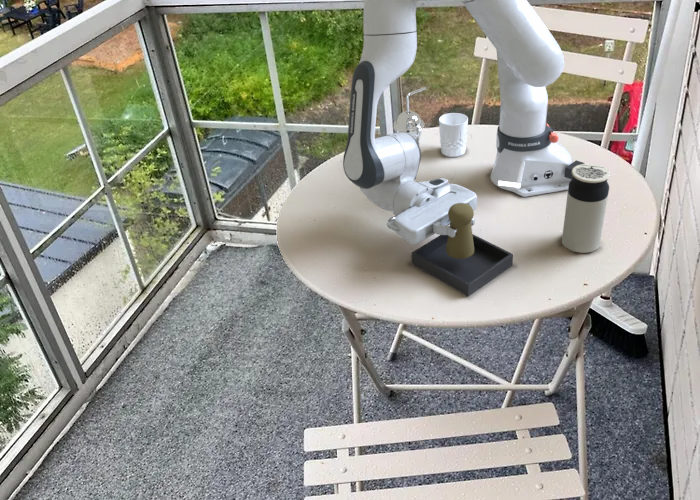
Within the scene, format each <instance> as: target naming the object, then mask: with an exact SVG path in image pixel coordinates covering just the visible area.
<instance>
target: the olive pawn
mask: <svg viewBox="0 0 700 500" xmlns="http://www.w3.org/2000/svg"><path fill="white" fill-rule="evenodd" d="M474 212H475V211H474V210H473V209H472V207H471V206H470V205H468V204H465V203H457V204H454V205H452V206H451V207H450V208H449V211H448V217H449V220H450V221H451V222H450V225H449V226H452V227H454V228H456V229H457V235H456V236H455V237H453V238H452V237H450V236H448V240H447V245H446V253H447V254H448V255H449V256H451V257H453V258H457V259H464V258H468V257H470V256H472V255H473V253H474V243H473V235H472V234H473V228H472V227H473V226H471V221H472V219H473V218H474V216H475V215H474V214H475V213H474Z"/></svg>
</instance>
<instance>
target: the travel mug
mask: <svg viewBox="0 0 700 500" xmlns="http://www.w3.org/2000/svg"><path fill="white" fill-rule="evenodd" d="M572 175H573V178H572V180H571V181H570V182H569V187H568V190H567V196H566V204H565V210H564V211H565V212H564V220H563V228H562V236H561V243H562V245H563V246H564V248H566V249H567V250H569V251H571V252H576V253H581V254H584V253H591V252H594V251H596V250H598V249H599V248H600V245H601V239H602V234H603V228H604V222H605V217H606V210H607V204H608V199H609V192H610V185H609V182H608V180H609V178H610V177H611V172H610V170H609V169H608V168H607V167H605V166H603V165H601V164H597V163H585V164H580V165H577V166H575V167H574V168H573V169H572Z"/></svg>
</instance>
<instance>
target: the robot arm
mask: <svg viewBox="0 0 700 500" xmlns="http://www.w3.org/2000/svg"><path fill="white" fill-rule="evenodd" d="M363 1H364V2H363V3H364V4H363V13H362V15H363V17H362V20H363V21H362V28H363V29H362V30H363V44H362V45H363V46H362V53H361V56H360V60H359V62H358V64H357V65H356V67H355V68H354V70H353V74H352V79H351V87H350V96H349V97H350V98H349V99H350V100H349V113H348V129H347V139H346V146H345V150H344V154H343V158H342V160H343V161H342V167H343V171H344V174H345V176H346V178H347V179H348V180H349V181H350V182H351V183H352V184H353V185H355V186H356V187H358V188H359V189H360V191H361V194H363V196H364V197H365V198H366V199H367V200H369V202H371V203H372V204H374V205H375V206H377V207H379V208H381V209H383V210H385V211H388V212H392V213H393V214H394V216H391V217H389V218H388V219H387V222H386V226H387V228H388V229H390V230H392V231H394V232H395V233H396V234H397V235H398V236H399V237H400V238H401V239H403V240H404V241H405V242H407V243H408V244H410V245H418V244H419V243H421V242H423V241H425V240H427V239H428V238H430V237H432V236H433V235H438V236H440V235H448V236H450V237H452V238H453V237H455V236H456V235H457V229H456V228H454V227H452V226H450V222H451V221H450V220H449V217H448V211H449V208H450V207H451V206H452V205H454V204H457V203H465V204H468V205H470V206H471V207H472V209H473V211H475V210H476V209H477V207H478V196H477V194H476V192H474V191H473V190H471V189H469V188H467V187H465V186H462V185H459V184H456V183H449V180H448V179H447V178H444V177H440V178H436V179H433V180H427V181H419V182H418V181H416V179H417V176H418V172H419V169H420V164H421V159H422V157H421V156H422V151H421V147H420V144H419V145H418V143H417V141H416V140H415V139H414V137H412V136H411V135H410V134H408V133H406V132H398V133H397V132H393V133H390V134H385V135H383V136H378V137H376V128H377V127H376V125H377V114H378V113H377V112H378V104H379V101H380V97H381V95H382V94H383V92H384V91H385V90H386V89H387V88H388V87H389V86H390V85H391V84H392V83H393V82H395V81H396V80H398V79H399V78H400V77H402V76H403V75H404V74H406V72H408V71H409V69H411V67H412V65H413V64H414V63H415V60H416V56H417V52H418V51H417V50H418V32H417V30H418V29H417V17H416V14H417V8H418V4H419V1H420V0H363ZM460 1H461V3H462V4H463V5H464V7H465V8H466V10H467V11H468V13H469V14H470V15H471V17H472V18H473V20H474V21H475V23H476V24H477V25H478V28H480V30H481V31H482V32H483V34H484V35H485V36H486V38H487V39H488V40H489V42H490V43H491V45H492V46H493V47H494V48H495V50H496V62H497V75H498V76H497V77H498V84H499V85H498V87H499V95H500V98H499V99H500V102H499V106H500V107H499V125H498V126H497V130H496V137H495V142H496V143H495V147H496V155H495V160H494V165H493V168H492V170H491V172H490V177H489V178H490V181H491V182H492V184H493V185H495V187H498V188H500V189H502V190H505V191H509V192H512V193H514V194H517V195H518V196H521V197H522V198H523V197H527V198H528V197H532V196H538V195H545V194H549V193H556V192H561V191H568V187H569V182H570V181H571V180H572V178H573V175H572V169H573V168H574V167H575V166H577V165H580V164H586V163H585V162H583V161H580V160H575V161H573V158H572V155H571V154H570V152H569V150H568V149H567V148H566V147H565V146H564V145H562V144H561V143H559V142H558V141H559V136H558V134H557V133H556V132H554V129H553V127H550V125H549V124H548V123H547V116H548V104H549V95H548V91H547V87H548V86H550V85H552V84H553V83H555V82H556V81H557V80H558V79H559V78H560V76H561V75H562V73H563V71H564V69H565V61H566V60H565V55H564V53H563V51H562V49H561V46H560V45H559V43H558V41H557V40H556V39H555V37H554V36H553V34H552V33H551V32H550V30H549V28H548V27H547V26H546V24H545V23H544V22H543V20H542V18H541V17H540V16H539V14H538V13H537V12H536V10H535V9H534V8H533V6H532V5H531V4H530V2H529V1H528V0H460ZM475 223H476V220H475V218H474V217H473V219H472V221H471V227H473V226H475Z"/></svg>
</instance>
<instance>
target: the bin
mask: <svg viewBox="0 0 700 500" xmlns="http://www.w3.org/2000/svg"><path fill="white" fill-rule="evenodd" d="M472 235H473V243H474V253H473V255H472V256H470V257H468V258H464V259H457V258H453V257H451V256H449V255H448V254H447V253H446V245H447V240H448V235H438V236H436V237H434V238H433V239H432V240H430V241H428V242H427V243H424V244H423V245H421V246H420V247H418V248H416V249H415V250H413V251H412V252H411V265H413V266H415V267H416V268H418V269H420V270H422V271H423V272H425V273H427V274H429V275H430V276H432V277H433V278H435V279H437V280H439V281H440V282H442V283H444V284H445V285H447V286H449V287H451V288H453V289H454V290H456V291H457V292H459V293H461V294H463V295H464V296H466V297H470V296H471V295H473V294H475V293H476V292H477V291H479V290H480V289H482V288H483V287H484V286H486V285H487V284H488V283H490V282H492V281H493V280H494V279H496V278H497V277H498V276H500V275H501V274H503V273H504V272H506V271H507V270H509V269H510V268H511V267H512V266H513V261H514V253H511V252H510V251H508V250H506V249H504V248H502V247H500V246H498V245H496V244H495V243H492V242H489V241H488V240H486V239H483V238H482V237H479V236H477V235H475V234H473V233H472Z"/></svg>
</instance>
